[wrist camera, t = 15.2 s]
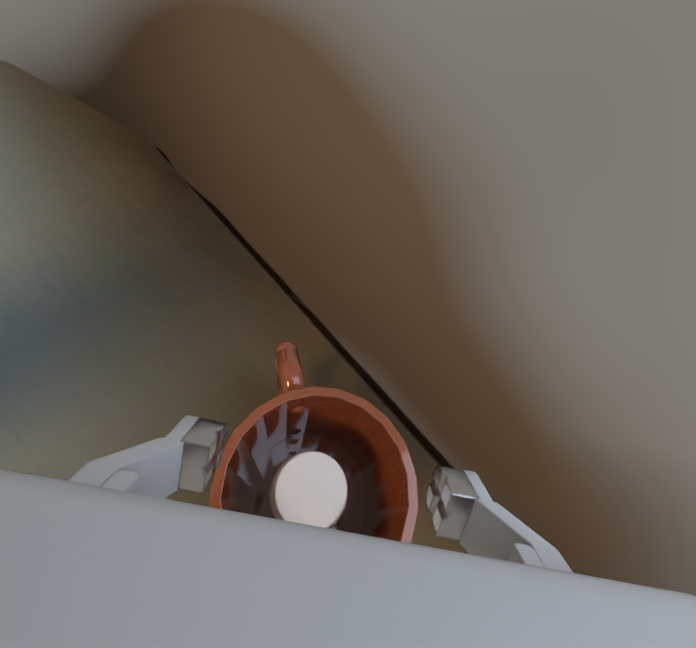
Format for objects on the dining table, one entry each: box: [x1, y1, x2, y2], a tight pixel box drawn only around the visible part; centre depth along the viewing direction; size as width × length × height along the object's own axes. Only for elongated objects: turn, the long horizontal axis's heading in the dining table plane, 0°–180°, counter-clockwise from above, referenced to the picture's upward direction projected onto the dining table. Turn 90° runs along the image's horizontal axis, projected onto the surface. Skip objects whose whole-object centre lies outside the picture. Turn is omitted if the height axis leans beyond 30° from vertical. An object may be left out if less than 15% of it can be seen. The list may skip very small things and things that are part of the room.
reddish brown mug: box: [209, 341, 419, 543], centre depth 22 cm, size 14×10×11 cm
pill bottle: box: [269, 451, 347, 529], centre depth 22 cm, size 5×5×8 cm
